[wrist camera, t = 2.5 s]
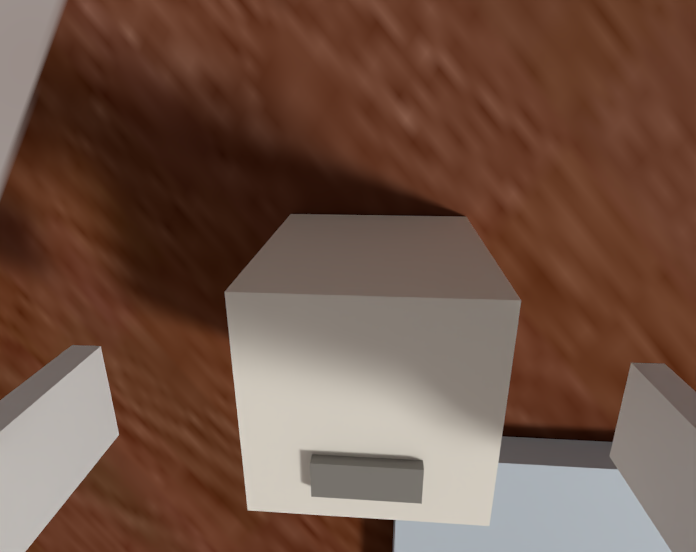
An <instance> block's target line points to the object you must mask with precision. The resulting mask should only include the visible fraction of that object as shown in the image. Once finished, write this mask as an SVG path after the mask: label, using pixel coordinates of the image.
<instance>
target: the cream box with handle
mask: <svg viewBox="0 0 696 552" xmlns="http://www.w3.org/2000/svg"><path fill="white" fill-rule="evenodd" d="M224 293H225V302H226V311H227V321H228V330H229V339H230V349H231V358H232V367H233V377H234V386H235V395H236V405H237V414H238V423H239V433H240V442H241V451H242V461H243V470H244V479H245V489H246V498H247V507H248V510H252V511H267V512H282V513H297V514H313V515H328V516H343V517H358V518H373V519H388V520H404V521H419V522H434V523H449V524H464V525H479V526H489V525H490V518H491V511H492V504H493V497H494V490H495V483H496V475H497V468H498V461H499V454H500V447H501V440H502V433H503V426H504V419H505V411H506V404H507V397H508V390H509V383H510V376H511V369H512V362H513V355H514V347H515V340H516V333H517V326H518V319H519V312H520V305H521V300H520V298H519V296H518V295H517V293H516V292H515V290H514V289H513V287H512V286H511V284H510V283H509V281H508V280H507V278H506V277H505V275H504V274H503V272H502V271H501V269H500V267H499V266H498V264H497V263H496V261H495V260H494V258H493V257H492V255H491V254H490V252H489V251H488V249H487V248H486V246H485V245H484V243H483V241H482V240H481V238H480V237H479V235H478V234H477V232H476V231H475V229H474V228H473V226H472V225H471V223H470V222H469V220H468V219H467V217H463V216H397V215H331V214H290V215H289V216H288V218H287V219H286V220H285V221H284V222H283V224H282V225H281V226H280V227H279V228H278V229H277V231H276V232H275V233H274V234H273V235H272V237H271V238H270V239H269V240H268V241H267V242H266V244H265V245H264V246H263V247H262V248H261V249H260V251H259V252H258V253H257V254H256V255H255V257H254V258H253V259H252V260H251V261H250V262H249V264H248V265H247V266H246V267H245V268H244V269H243V271H242V272H241V273H240V274H239V275H238V277H237V278H236V279H235V280H234V281H233V282H232V284H231V285H230V286H229V287H228V288H227V289H226V291H225V292H224Z"/></svg>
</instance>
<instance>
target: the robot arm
mask: <svg viewBox="0 0 696 552" xmlns="http://www.w3.org/2000/svg"><path fill="white" fill-rule="evenodd" d="M118 435H119V432H118V427H117V423H116V418H115V413H114V408H113V403H112V398H111V394H110V389H109V384H108V379H107V374H106V369H105V365H104V360H103V355H102V350H101V346H79V345H72V346H70V347H69V348H68V349H67V350H65V351H64V352H63V353H61V354H60V355H59V356H57V357H56V358H55V359H54V360H52V361H51V362H50V363H48V364H47V365H46V366H44V367H43V368H42V369H41V370H39V371H38V372H37V373H35V374H34V375H33V376H31V377H30V378H29V379H28V380H26V381H25V382H24V383H22V384H21V385H20V386H18V387H17V388H16V389H15V390H13V391H12V392H11V393H9V394H8V395H7V396H5V397H4V398H3V399H2V400H0V552H25V551H26V550H27V549H28V548H29V546H30V545H31V544H32V543H33V541H34V540H35V539H36V538H37V536H38V535H39V534H40V533H41V531H42V530H43V529H44V528H45V526H46V525H47V524H48V523H49V521H50V520H51V519H52V518H53V516H54V515H55V514H56V513H57V511H58V510H59V509H60V508H61V506H62V505H63V504H64V503H65V501H66V500H67V499H68V498H69V496H70V495H71V494H72V493H73V491H74V490H75V489H76V488H77V487H78V485H79V484H80V483H81V482H82V480H83V479H84V478H85V477H86V475H87V474H88V473H89V472H90V470H91V469H92V468H93V467H94V465H95V464H96V463H97V462H98V460H99V459H100V458H101V457H102V455H103V454H104V453H105V452H106V450H107V449H108V448H109V447H110V445H111V444H112V443H113V442H114V440H115V439H116V438H117V437H118ZM610 458H611V460H612V461H613V463H614V464H615V466H616V467H617V469H618V470H619V472H620V473H621V475H622V476H623V478H624V479H625V481H626V482H627V484H628V486H629V487H630V489H631V490H632V492H633V493H634V495H635V496H636V498H637V499H638V501H639V502H640V504H641V505H642V507H643V508H644V510H645V512H646V513H647V515H648V516H649V518H650V519H651V521H652V522H653V524H654V525H655V527H656V528H657V530H658V531H659V533H660V535H661V536H662V538H663V539H664V541H665V542H666V544H667V545H668V547H669V548H670V550H671V551H672V552H696V392H695V391H694V390H693V389H692V388H691V387H690V386H689V385H688V384H686V383H685V382H684V381H683V380H682V379H681V378H680V377H679V376H678V375H676V374H675V373H674V372H673V371H672V370H671V369H670V368H669V367H668V366H667V365H665V364H654V363H631V366H630V370H629V374H628V379H627V383H626V387H625V392H624V396H623V400H622V404H621V409H620V413H619V417H618V422H617V426H616V430H615V434H614V439H613V443H612V447H611V452H610Z"/></svg>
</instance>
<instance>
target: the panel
mask: <svg viewBox="0 0 696 552" xmlns="http://www.w3.org/2000/svg"><path fill="white" fill-rule="evenodd" d="M612 443H613V442H603V441H583V440H564V439H544V438H524V437H505V436H502V440H501V447H500V454H499V461H498V468H497V475H496V483H495V490H494V497H493V504H492V511H491V518H490V525H489V526H479V525H464V524H449V523H434V522H419V521H404V520H394V529H393V552H672V551H671V550H670V548H669V547H668V545H667V544H666V542H665V541H664V539H663V538H662V536H661V535H660V533H659V531H658V530H657V528H656V527H655V525H654V524H653V522H652V521H651V519H650V518H649V516H648V515H647V513H646V512H645V510H644V508H643V507H642V505H641V504H640V502H639V501H638V499H637V498H636V496H635V495H634V493H633V492H632V490H631V489H630V487H629V486H628V484H627V482H626V481H625V479H624V478H623V476H622V475H621V473H620V472H619V470H618V469H617V467H616V466H615V464H614V463H613V461H612V460H611V458H610V452H611V447H612Z"/></svg>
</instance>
